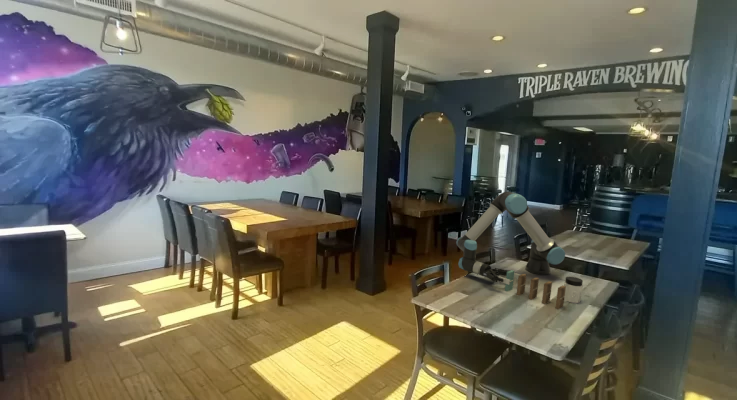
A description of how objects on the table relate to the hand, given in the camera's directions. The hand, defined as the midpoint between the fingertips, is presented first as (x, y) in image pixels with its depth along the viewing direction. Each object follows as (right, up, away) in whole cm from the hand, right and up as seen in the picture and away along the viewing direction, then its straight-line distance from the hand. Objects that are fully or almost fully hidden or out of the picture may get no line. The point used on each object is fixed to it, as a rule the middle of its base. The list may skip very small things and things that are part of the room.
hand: (515, 279), depth 208 cm
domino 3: (+11, -9, -12) cm, 19 cm away
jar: (+28, -10, -7) cm, 30 cm away
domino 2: (+7, -8, -7) cm, 13 cm away
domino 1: (+2, -7, -2) cm, 8 cm away
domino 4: (+16, -10, -17) cm, 26 cm away
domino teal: (-3, -6, +3) cm, 8 cm away
